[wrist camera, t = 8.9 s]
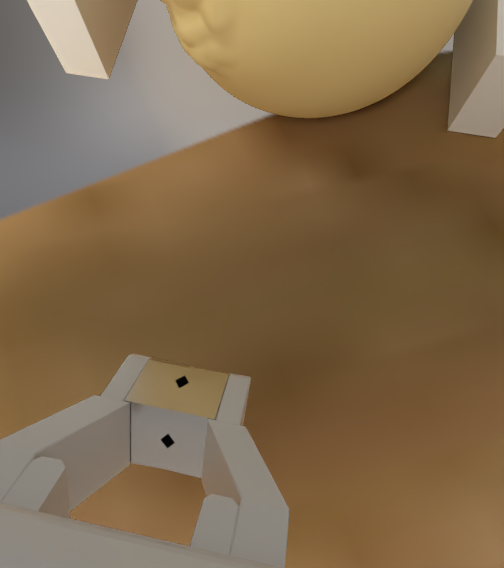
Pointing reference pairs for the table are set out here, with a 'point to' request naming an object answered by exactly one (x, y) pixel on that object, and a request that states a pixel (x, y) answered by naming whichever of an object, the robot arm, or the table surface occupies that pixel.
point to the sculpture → (314, 48)
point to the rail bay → (465, 63)
